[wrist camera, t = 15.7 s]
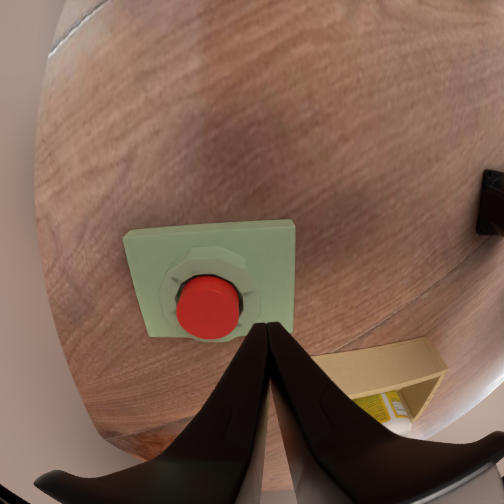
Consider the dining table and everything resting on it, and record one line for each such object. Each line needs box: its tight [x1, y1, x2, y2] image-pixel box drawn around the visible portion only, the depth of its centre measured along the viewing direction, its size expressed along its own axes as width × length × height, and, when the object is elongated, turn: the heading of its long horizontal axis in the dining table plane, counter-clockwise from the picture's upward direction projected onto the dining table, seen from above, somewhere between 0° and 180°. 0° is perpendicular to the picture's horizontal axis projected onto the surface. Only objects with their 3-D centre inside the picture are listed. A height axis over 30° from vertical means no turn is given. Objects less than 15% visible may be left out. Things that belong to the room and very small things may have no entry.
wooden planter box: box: [310, 336, 449, 422], centre depth 25 cm, size 16×10×6 cm, turn 93°
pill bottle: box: [352, 390, 411, 438], centre depth 22 cm, size 6×6×11 cm
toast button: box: [176, 276, 239, 340], centre depth 18 cm, size 4×4×2 cm
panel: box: [122, 219, 296, 342], centre depth 20 cm, size 12×9×4 cm
